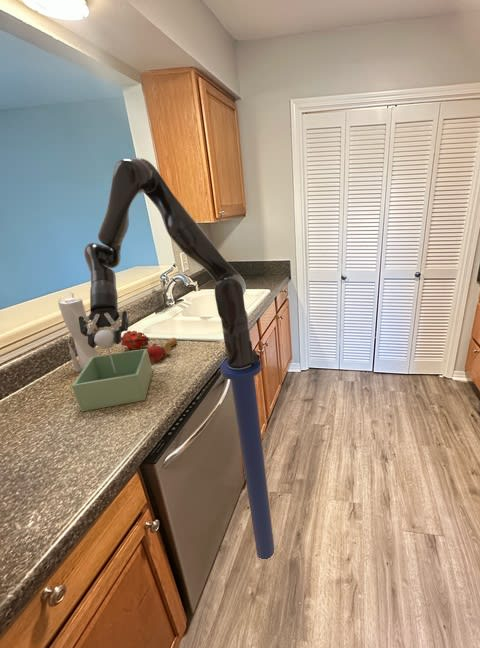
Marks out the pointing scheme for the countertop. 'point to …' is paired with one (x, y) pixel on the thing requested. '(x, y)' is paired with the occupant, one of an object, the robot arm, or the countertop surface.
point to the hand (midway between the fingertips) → (105, 345)
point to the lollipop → (105, 341)
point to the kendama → (160, 349)
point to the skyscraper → (76, 331)
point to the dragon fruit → (134, 340)
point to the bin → (113, 380)
